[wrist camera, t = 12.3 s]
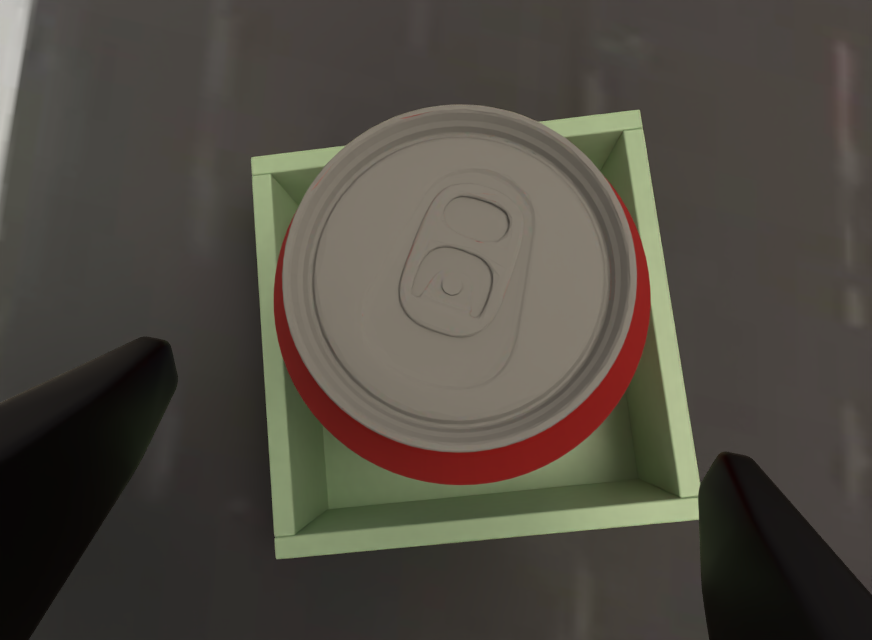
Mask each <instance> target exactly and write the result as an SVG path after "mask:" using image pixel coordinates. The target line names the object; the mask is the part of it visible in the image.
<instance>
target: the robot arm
mask: <svg viewBox="0 0 872 640" xmlns="http://www.w3.org/2000/svg"><path fill="white" fill-rule="evenodd" d="M177 382H178V375H177V371H176V366H175V362H174V358H173V353H172V349H171V346H170V344H169V343H168V342H167V341H165V340H162V339H157V338H152V337H140V338H138V339H136V340H133V341H131V342H129V343H127V344H125V345H123V346H121V347H118V348H116V349H114V350H112V351H110V352H108V353H106V354H104V355H101V356H99V357H97V358H95V359H93V360H91V361H89V362H86V363H84V364H82V365H80V366H78V367H76V368H74V369H72V370H69V371H67V372H65V373H63V374H61V375H59V376H57V377H54V378H52V379H50V380H48V381H46V382H44V383H42V384H40V385H37V386H35V387H33V388H31V389H29V390H27V391H25V392H23V393H20V394H18V395H16V396H14V397H12V398H10V399H8V400H5V401H3V402H1V403H0V640H29V638H30V637H31V635H32V634H33V632H34V630H35V629H36V627H37V626H38V624H39V622H40V621H41V619H42V618H43V616H44V615H45V613H46V611H47V610H48V608H49V607H50V605H51V604H52V602H53V600H54V599H55V597H56V596H57V594H58V592H59V591H60V589H61V588H62V586H63V585H64V583H65V581H66V580H67V578H68V577H69V575H70V573H71V572H72V570H73V569H74V567H75V566H76V564H77V562H78V561H79V559H80V558H81V556H82V555H83V553H84V551H85V550H86V548H87V547H88V545H89V543H90V542H91V540H92V539H93V537H94V536H95V534H96V532H97V531H98V529H99V528H100V526H101V525H102V523H103V521H104V520H105V518H106V517H107V515H108V513H109V512H110V510H111V509H112V507H113V506H114V504H115V502H116V501H117V499H118V498H119V496H120V494H121V493H122V491H123V490H124V488H125V487H126V485H127V483H128V482H129V480H130V479H131V477H132V475H133V474H134V472H135V470H136V469H137V467H138V465H139V463H140V461H141V459H142V457H143V455H144V453H145V451H146V449H147V447H148V445H149V443H150V441H151V439H152V437H153V435H154V433H155V431H156V429H157V427H158V425H159V423H160V421H161V419H162V417H163V415H164V413H165V411H166V409H167V406H168V404H169V402H170V400H171V398H172V396H173V394H174V392H175V390H176V387H177ZM698 509H699V534H700V560H701V581H702V594H703V601H704V609H705V615H706V622H707V628H708V634H709V640H872V595H871V594H870V592H869V591H868V590H867V589H866V588H865V587H864V586H863V584H862V583H861V582H860V581H859V580H858V579H857V578H856V576H855V575H854V574H853V573H852V572H851V571H850V570H849V568H848V567H847V566H846V565H845V564H844V563H843V562H842V560H841V559H840V558H839V557H838V556H837V555H836V554H835V552H834V551H833V550H832V549H831V548H830V547H829V546H828V544H827V543H826V542H825V541H824V540H823V539H822V538H821V536H820V535H819V534H818V533H817V532H816V531H815V530H814V528H813V527H812V526H811V525H810V524H809V523H808V522H807V520H806V519H805V518H804V517H803V516H802V515H801V514H800V512H799V511H798V510H797V509H796V508H795V507H794V506H793V504H792V503H791V502H790V501H789V500H788V499H787V498H786V496H785V495H784V494H783V493H782V492H781V491H780V490H779V489H778V487H777V486H776V485H775V484H774V483H773V482H772V481H771V479H770V478H769V477H768V476H767V475H766V474H765V473H764V471H763V470H762V469H761V468H760V467H759V466H758V465H757V463H756V462H755V461H754V460H753V459H752V458H750V457H748V456H745V455H740V454H735V453H730V452H722V453H720V454H719V455H718V456H717V457H716V459H715V461H714V462H713V464H712V466H711V467H710V469H709V471H708V472H707V474H706V476H705V477H704V479H703V481H702V482H701V485H700V488H699V493H698Z"/></svg>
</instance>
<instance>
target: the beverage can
mask: <svg viewBox="0 0 872 640" xmlns="http://www.w3.org/2000/svg"><path fill="white" fill-rule="evenodd" d="M650 307H651V293H650V279H649V271H648V266H647V260H646V256H645V252H644V249H643V245H642V241H641V239H640V236H639V233H638V231H637V228H636V225H635V223H634V221H633V219H632V217H631V215H630V213H629V211H628V209H627V207H626V206H625V204H624V202H623V201H622V199H621V197H620V196H619V194H618V193H617V192H616V190H615V189H614V188H613V186H612V185H611V183H610V182H609V181H608V180H607V179H606V178H605V176H604V175H603V174H602V173H601V172H600V171H599V170H598V168H597V167H596V166H595V165H594V164H593V162H592V161H591V160H590V159H589V158H588V157H587V156H586V155H585V154H584V153H583V152H582V151H580V150H579V149H578V148H577V147H576V146H575V145H574V144H572V143H571V142H570V141H569V140H568V139H566V138H565V137H563V136H562V135H560V134H558V133H557V132H555V131H554V130H552V129H550V128H549V127H547V126H545V125H543V124H542V123H540V122H537V121H535V120H533V119H530V118H528V117H525V116H523V115H520V114H517V113H515V112H511V111H507V110H502V109H498V108H493V107H488V106H480V105H461V104H453V105H442V106H434V107H427V108H423V109H419V110H415V111H411V112H408V113H405V114H401V115H398V116H396V117H393V118H391V119H389V120H386V121H384V122H382V123H380V124H378V125H376V126H374V127H372V128H370V129H369V130H367V131H366V132H364V133H363V134H361V135H360V136H358V137H357V138H355V139H354V140H353V141H351V142H350V143H348V144H347V145H346V146H345V147H344V148H343V149H342V150H340V151H339V152H338V153H337V154H336V155H335V156H334V157H333V158H332V159H331V160H330V161H329V162H328V163H327V164H326V165H325V166H324V168H323V169H322V170H321V172H320V173H319V174H318V175H317V177H316V178H315V180H314V181H313V182H312V184H311V185H310V187H309V188H308V189H307V191H306V193H305V195H304V197H303V199H302V201H301V203H300V205H299V207H298V209H297V210H296V212H295V214H294V216H293V218H292V220H291V222H290V225H289V227H288V229H287V232H286V234H285V237H284V240H283V243H282V246H281V250H280V253H279V257H278V261H277V267H276V273H275V282H274V318H275V327H276V333H277V338H278V343H279V346H280V350H281V354H282V357H283V360H284V362H285V365H286V368H287V371H288V373H289V375H290V377H291V379H292V381H293V383H294V386H295V387H296V389H297V391H298V392H299V394H300V396H301V398H302V399H303V401H304V402H305V404H306V405H307V406H308V408H309V409H310V411H311V412H312V413H313V415H314V416H315V417H316V418H317V419H318V420H319V422H320V423H321V424H322V425H323V426H324V427H325V428H326V429H327V430H328V431H329V432H330V433H331V434H332V435H333V436H334V437H335V438H336V439H338V440H339V441H340V442H341V443H342V444H344V445H345V446H346V447H347V448H349V449H350V450H352V451H353V452H355V453H356V454H358V455H359V456H361V457H362V458H364V459H366V460H367V461H369V462H371V463H373V464H375V465H377V466H379V467H381V468H383V469H386V470H388V471H390V472H392V473H395V474H398V475H401V476H404V477H407V478H411V479H415V480H419V481H424V482H429V483H436V484H445V485H478V484H486V483H494V482H498V481H503V480H508V479H512V478H515V477H518V476H521V475H524V474H527V473H530V472H532V471H535V470H537V469H539V468H542V467H544V466H546V465H548V464H550V463H551V462H553V461H555V460H557V459H559V458H560V457H562V456H563V455H565V454H567V453H568V452H570V451H571V450H573V449H574V448H575V447H577V446H578V445H579V444H580V443H582V442H583V441H584V440H585V439H587V438H588V437H589V436H590V435H591V434H592V433H593V432H594V431H595V430H596V429H597V428H598V427H599V426H600V425H601V424H602V423H603V422H604V420H605V419H606V418H607V417H608V416H609V415H610V413H611V412H612V411H613V409H614V408H615V407H616V405H617V404H618V403H619V401H620V400H621V398H622V396H623V395H624V393H625V391H626V390H627V388H628V386H629V384H630V382H631V380H632V378H633V376H634V374H635V372H636V369H637V367H638V364H639V361H640V359H641V356H642V353H643V349H644V345H645V342H646V337H647V332H648V326H649V318H650Z"/></svg>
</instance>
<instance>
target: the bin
mask: <svg viewBox="0 0 872 640" xmlns="http://www.w3.org/2000/svg"><path fill="white" fill-rule="evenodd" d="M540 123H542V124H543V125H545V126H547V127H549V128H550V129H552V130H554V131H555V132H557V133H558V134H560V135H562V136H563V137H565V138H566V139H568V140H569V141H570V142H571V143H572V144H574V145H575V146H576V147H577V148H578V149H579V150H580V151H582V152H583V153H584V154H585V155H586V156H587V157H588V158H589V159H590V160H591V161H592V162H593V164H594V165H595V166H596V167H597V168H598V170H599V171H600V172H601V173H602V174H603V175H604V176H605V178H606V179H607V180H608V181H609V182H610V183H611V185H612V186H613V188H614V189H615V190H616V192H617V193H618V194H619V196H620V197H621V199H622V201H623V202H624V204H625V206H626V207H627V209H628V211H629V213H630V215H631V217H632V219H633V221H634V223H635V225H636V228H637V231H638V233H639V236H640V239H641V241H642V245H643V249H644V252H645V256H646V260H647V266H648V271H649V279H650V293H651V307H650V318H649V326H648V332H647V337H646V342H645V345H644V349H643V353H642V356H641V359H640V361H639V364H638V367H637V369H636V372H635V374H634V376H633V378H632V380H631V382H630V384H629V386H628V388H627V390H626V391H625V393H624V395H623V396H622V398H621V400H620V401H619V403H618V404H617V405H616V407H615V408H614V409H613V411H612V412H611V413H610V415H609V416H608V417H607V418H606V419H605V420H604V422H603V423H602V424H601V425H600V426H599V427H598V428H597V429H596V430H595V431H594V432H593V433H592V434H591V435H590V436H589V437H588V438H587V439H585V440H584V441H583V442H582V443H580V444H579V445H578V446H577V447H575V448H574V449H573V450H571V451H570V452H568V453H567V454H565V455H563V456H562V457H560V458H559V459H557V460H555V461H553V462H551V463H550V464H548V465H546V466H544V467H542V468H539V469H537V470H535V471H532V472H530V473H527V474H524V475H521V476H518V477H515V478H512V479H508V480H503V481H498V482H494V483H486V484H478V485H445V484H436V483H429V482H424V481H419V480H415V479H411V478H407V477H404V476H401V475H398V474H395V473H392V472H390V471H388V470H386V469H383V468H381V467H379V466H377V465H375V464H373V463H371V462H369V461H367V460H366V459H364V458H362V457H361V456H359V455H358V454H356V453H355V452H353V451H352V450H350V449H349V448H347V447H346V446H345V445H344V444H342V443H341V442H340V441H339V440H338V439H336V438H335V437H334V436H333V435H332V434H331V433H330V432H329V431H328V430H327V429H326V428H325V427H324V426H323V425H322V424H321V423H320V422H319V420H318V419H317V418H316V417H315V416H314V415H313V413H312V412H311V411H310V409H309V408H308V406H307V405H306V404H305V402H304V401H303V399H302V398H301V396H300V394H299V392H298V391H297V389H296V387H295V386H294V383H293V381H292V379H291V377H290V375H289V373H288V371H287V368H286V365H285V362H284V360H283V357H282V354H281V350H280V346H279V343H278V338H277V333H276V327H275V318H274V282H275V273H276V267H277V261H278V257H279V253H280V250H281V246H282V243H283V240H284V237H285V234H286V232H287V229H288V227H289V225H290V222H291V220H292V218H293V216H294V214H295V212H296V210H297V209H298V207H299V205H300V203H301V201H302V199H303V197H304V195H305V193H306V191H307V189H308V188H309V187H310V185H311V184H312V182H313V181H314V180H315V178H316V177H317V175H318V174H319V173H320V172H321V170H322V169H323V168H324V166H325V165H326V164H327V163H328V162H329V161H330V160H331V159H332V158H333V157H334V156H335V155H336V154H337V153H338V152H339V151H340V150H342V149H343V148H344V147H345V146H339V147H331V148H323V149H315V150H307V151H298V152H290V153H282V154H274V155H266V156H258V157H252V158H251V168H252V175H253V176H252V187H253V203H254V219H255V235H256V251H257V267H258V283H259V299H260V315H261V331H262V347H263V363H264V379H265V395H266V412H267V428H268V444H269V460H270V476H271V492H272V508H273V524H274V536H275V555H276V559H287V558H297V557H308V556H319V555H329V554H340V553H350V552H361V551H372V550H382V549H393V548H404V547H414V546H425V545H435V544H446V543H457V542H467V541H478V540H488V539H499V538H510V537H520V536H531V535H542V534H552V533H563V532H573V531H584V530H595V529H605V528H616V527H626V526H637V525H648V524H658V523H669V522H680V521H690V520H699V509H698V493H699V488H700V480H699V473H698V467H697V461H696V455H695V449H694V442H693V436H692V430H691V424H690V417H689V411H688V405H687V399H686V393H685V386H684V380H683V374H682V368H681V362H680V355H679V349H678V343H677V337H676V331H675V324H674V318H673V312H672V306H671V300H670V293H669V287H668V281H667V275H666V268H665V262H664V256H663V250H662V244H661V237H660V231H659V225H658V219H657V213H656V206H655V200H654V194H653V188H652V182H651V175H650V169H649V163H648V157H647V150H646V144H645V138H644V132H643V129H642V121H641V114H640V110H631V111H623V112H615V113H607V114H599V115H591V116H583V117H574V118H566V119H558V120H550V121H542V122H540Z"/></svg>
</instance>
